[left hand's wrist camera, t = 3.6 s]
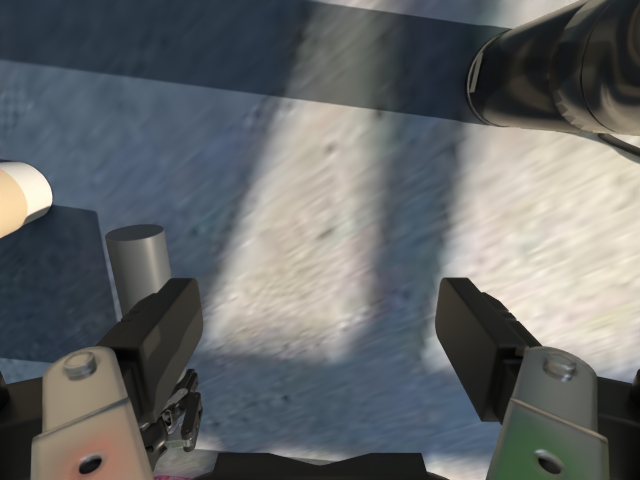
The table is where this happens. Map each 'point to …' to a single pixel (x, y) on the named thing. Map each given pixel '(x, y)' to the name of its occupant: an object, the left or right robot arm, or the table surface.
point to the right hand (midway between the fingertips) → (169, 374)
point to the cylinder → (139, 266)
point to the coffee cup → (21, 196)
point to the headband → (170, 478)
